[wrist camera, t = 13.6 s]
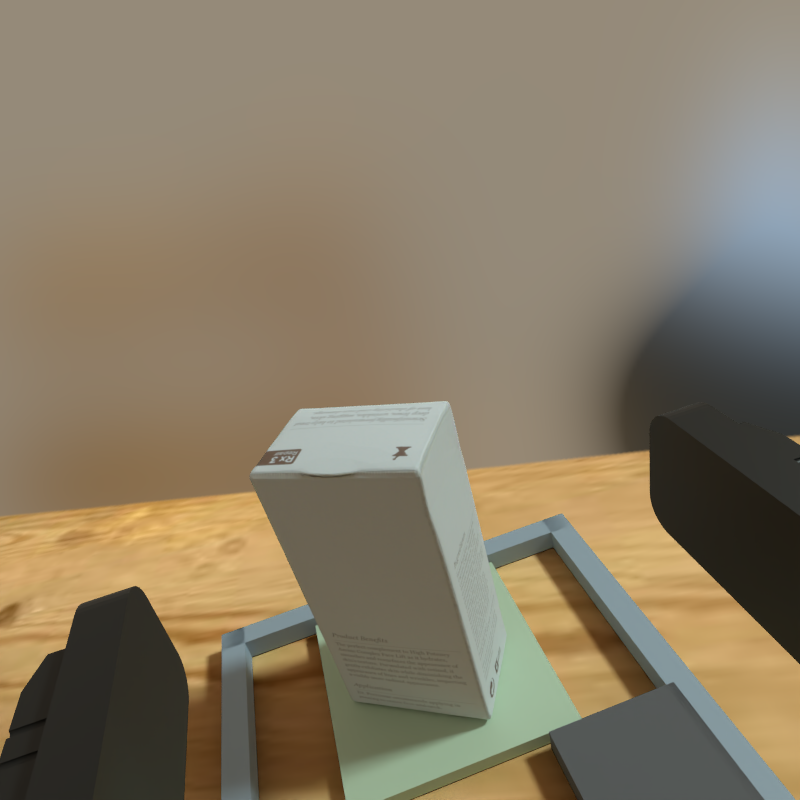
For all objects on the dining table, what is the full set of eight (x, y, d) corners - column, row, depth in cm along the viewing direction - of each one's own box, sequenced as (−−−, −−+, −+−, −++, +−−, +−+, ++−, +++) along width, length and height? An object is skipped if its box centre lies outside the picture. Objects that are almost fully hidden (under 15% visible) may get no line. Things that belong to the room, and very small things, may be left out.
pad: (583, 729, 23) (582, 719, 23) (352, 823, 22) (348, 813, 22) (492, 570, 31) (491, 561, 31) (318, 634, 30) (315, 625, 30)
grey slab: (776, 835, 19) (778, 817, 19) (628, 900, 19) (626, 883, 18) (673, 698, 24) (673, 682, 23) (551, 748, 23) (548, 731, 23)
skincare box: (509, 634, 27) (460, 390, 21) (492, 732, 23) (427, 471, 18) (376, 622, 29) (300, 398, 24) (342, 711, 26) (242, 471, 20)
